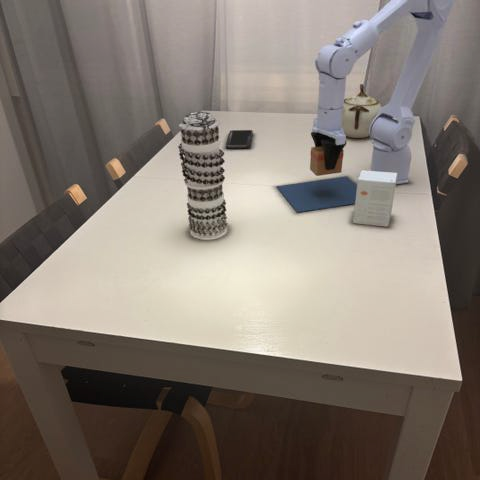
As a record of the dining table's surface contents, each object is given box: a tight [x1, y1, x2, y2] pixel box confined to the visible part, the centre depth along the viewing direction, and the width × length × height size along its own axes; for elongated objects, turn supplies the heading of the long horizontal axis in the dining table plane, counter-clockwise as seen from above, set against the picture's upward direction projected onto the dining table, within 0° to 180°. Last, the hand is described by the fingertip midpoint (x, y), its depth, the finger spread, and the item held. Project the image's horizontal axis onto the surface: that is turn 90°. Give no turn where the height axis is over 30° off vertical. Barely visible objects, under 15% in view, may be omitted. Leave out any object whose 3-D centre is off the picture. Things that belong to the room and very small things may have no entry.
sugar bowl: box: [342, 83, 383, 139], centre depth 151 cm, size 20×15×15 cm
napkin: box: [276, 175, 357, 214], centre depth 120 cm, size 20×16×1 cm
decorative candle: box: [177, 111, 228, 241], centre depth 100 cm, size 9×9×25 cm
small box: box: [352, 169, 397, 228], centre depth 105 cm, size 8×6×10 cm
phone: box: [225, 129, 254, 150], centre depth 154 cm, size 8×1×15 cm
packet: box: [309, 146, 344, 177], centre depth 115 cm, size 7×5×6 cm
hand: (326, 165), depth 115 cm, fingers closed on packet, 4 cm apart
